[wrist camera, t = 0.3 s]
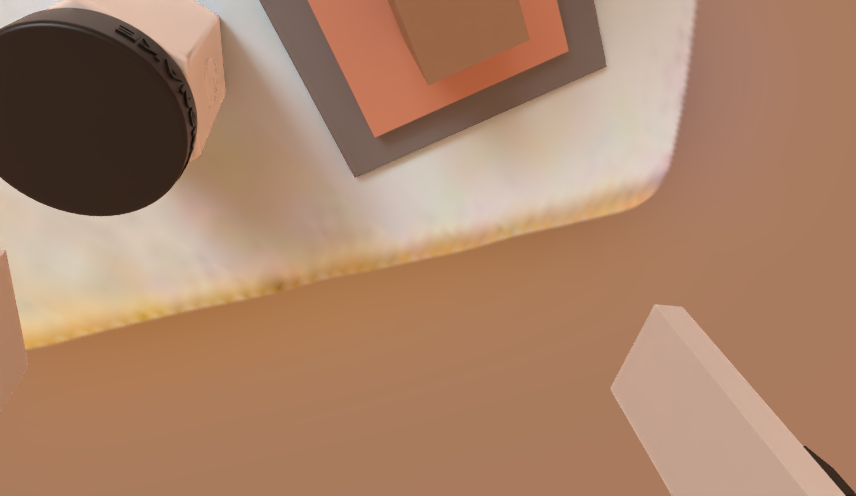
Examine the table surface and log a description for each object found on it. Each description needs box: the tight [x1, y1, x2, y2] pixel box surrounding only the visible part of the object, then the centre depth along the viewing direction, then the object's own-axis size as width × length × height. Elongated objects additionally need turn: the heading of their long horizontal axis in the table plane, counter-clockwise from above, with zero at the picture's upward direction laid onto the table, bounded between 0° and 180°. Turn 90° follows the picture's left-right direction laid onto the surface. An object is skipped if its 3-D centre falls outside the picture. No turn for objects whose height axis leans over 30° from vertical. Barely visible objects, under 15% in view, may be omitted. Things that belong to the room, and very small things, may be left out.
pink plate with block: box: [308, 0, 569, 137], centre depth 28 cm, size 13×13×9 cm
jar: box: [0, 0, 226, 216], centre depth 27 cm, size 9×8×12 cm
